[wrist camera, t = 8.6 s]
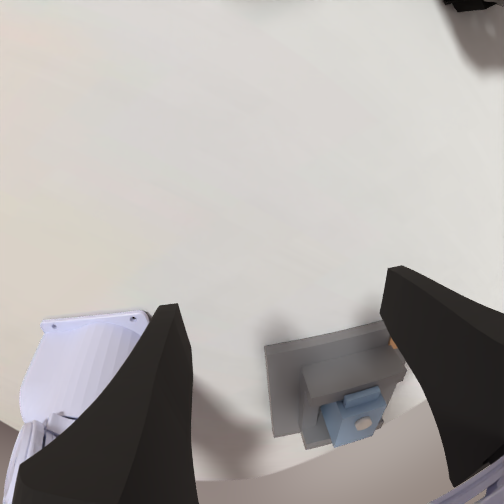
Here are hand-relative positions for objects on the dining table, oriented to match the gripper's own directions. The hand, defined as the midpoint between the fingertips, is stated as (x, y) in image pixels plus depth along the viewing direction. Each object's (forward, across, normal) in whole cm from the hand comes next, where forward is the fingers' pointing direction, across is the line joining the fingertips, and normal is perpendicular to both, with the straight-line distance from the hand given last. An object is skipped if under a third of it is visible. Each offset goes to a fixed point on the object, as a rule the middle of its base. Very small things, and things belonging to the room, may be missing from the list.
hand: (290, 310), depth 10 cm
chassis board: (+9, -7, +19) cm, 22 cm away
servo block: (+8, -7, +19) cm, 22 cm away
